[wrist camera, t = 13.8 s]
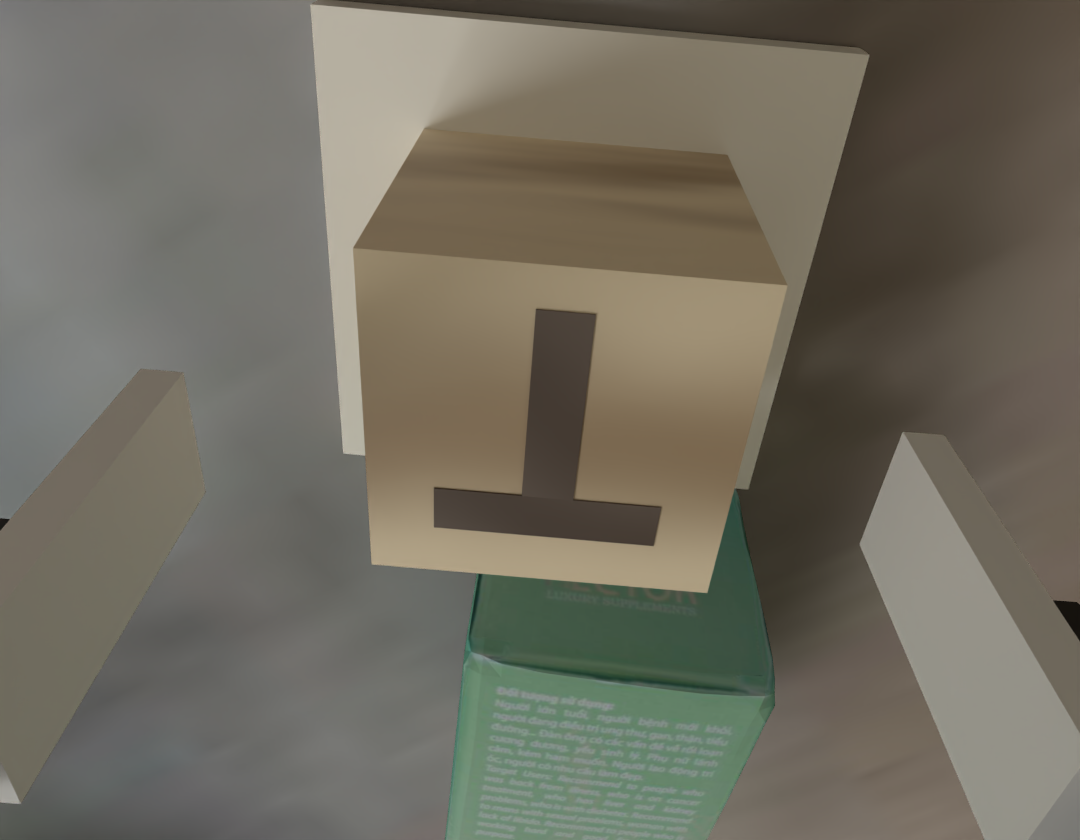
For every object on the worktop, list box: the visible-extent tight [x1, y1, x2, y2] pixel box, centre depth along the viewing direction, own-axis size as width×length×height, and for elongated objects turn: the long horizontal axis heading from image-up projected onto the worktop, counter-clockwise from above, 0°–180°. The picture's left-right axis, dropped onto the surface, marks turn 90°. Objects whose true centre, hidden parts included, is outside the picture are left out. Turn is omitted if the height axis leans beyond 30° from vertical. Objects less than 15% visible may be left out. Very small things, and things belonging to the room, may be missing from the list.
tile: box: [310, 0, 870, 490], centre depth 21 cm, size 12×12×1 cm
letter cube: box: [353, 129, 788, 593], centre depth 18 cm, size 7×7×7 cm
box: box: [445, 488, 775, 840], centre depth 25 cm, size 7×14×8 cm, turn 173°
